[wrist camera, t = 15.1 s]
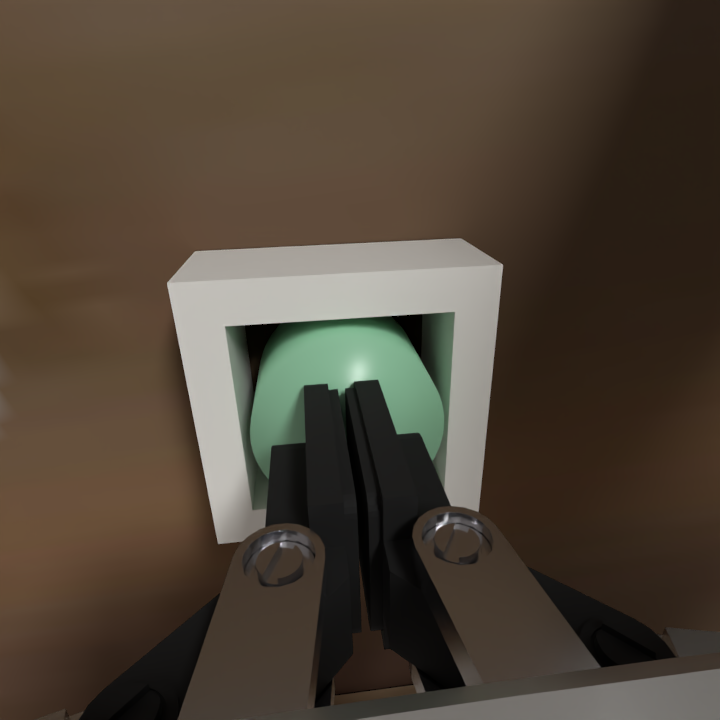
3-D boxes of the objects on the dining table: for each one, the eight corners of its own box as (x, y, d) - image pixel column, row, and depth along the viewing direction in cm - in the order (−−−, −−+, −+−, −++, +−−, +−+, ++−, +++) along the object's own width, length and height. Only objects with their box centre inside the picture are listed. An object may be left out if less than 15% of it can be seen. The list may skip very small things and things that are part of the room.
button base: (195, 251, 13) (167, 282, 10) (461, 238, 13) (503, 264, 10) (232, 472, 15) (217, 544, 13) (447, 452, 16) (478, 516, 13)
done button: (250, 304, 13) (237, 350, 10) (417, 294, 13) (449, 336, 10) (268, 446, 14) (261, 518, 12) (414, 433, 15) (440, 499, 12)
